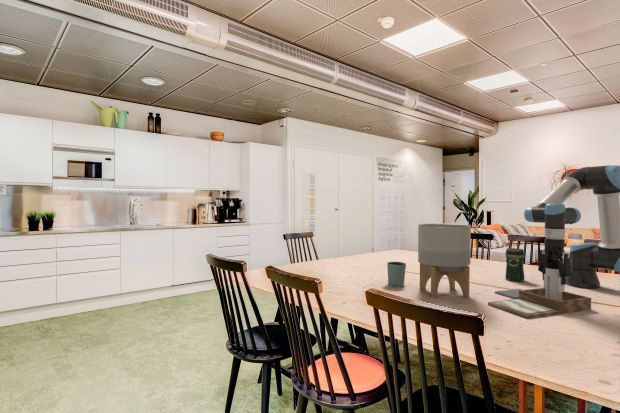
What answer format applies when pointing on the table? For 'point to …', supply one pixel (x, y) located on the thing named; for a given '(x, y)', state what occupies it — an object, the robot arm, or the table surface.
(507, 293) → the potting mat
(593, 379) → the table surface
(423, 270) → the planter
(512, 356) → the table surface
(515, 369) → the table surface
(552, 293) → the travel mug
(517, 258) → the coffee jar
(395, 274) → the blue-grey cup
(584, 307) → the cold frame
